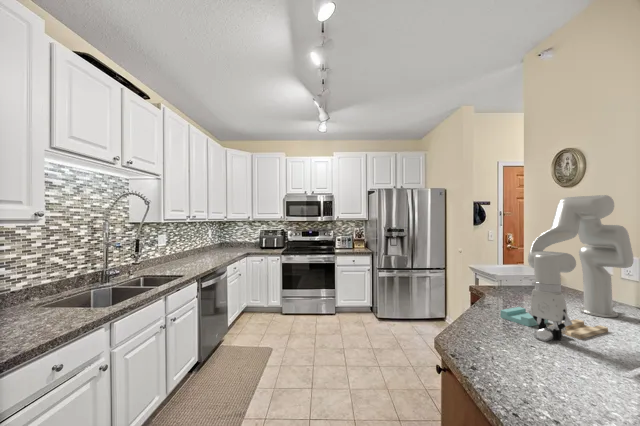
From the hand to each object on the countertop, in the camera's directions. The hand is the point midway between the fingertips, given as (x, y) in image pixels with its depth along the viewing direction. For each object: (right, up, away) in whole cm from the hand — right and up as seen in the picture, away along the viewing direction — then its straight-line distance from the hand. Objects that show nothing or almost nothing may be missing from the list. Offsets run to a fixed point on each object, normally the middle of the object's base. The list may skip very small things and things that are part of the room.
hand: (550, 337), depth 104 cm
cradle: (+4, -1, +18) cm, 19 cm away
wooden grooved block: (+16, -1, +6) cm, 17 cm away
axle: (0, 0, 0) cm, 1 cm away
